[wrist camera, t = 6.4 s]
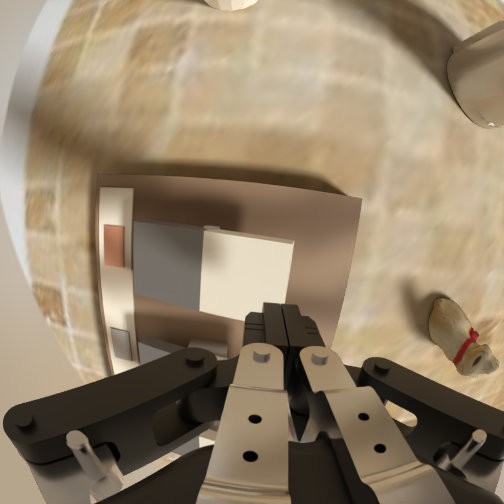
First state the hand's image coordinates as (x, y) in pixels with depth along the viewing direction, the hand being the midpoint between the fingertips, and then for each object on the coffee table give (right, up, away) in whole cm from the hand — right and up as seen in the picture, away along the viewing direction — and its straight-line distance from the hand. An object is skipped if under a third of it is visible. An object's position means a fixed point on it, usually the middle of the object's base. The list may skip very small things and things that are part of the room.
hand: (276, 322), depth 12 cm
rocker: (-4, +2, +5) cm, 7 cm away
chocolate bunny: (+21, -5, +12) cm, 25 cm away
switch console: (-5, -5, +13) cm, 15 cm away
